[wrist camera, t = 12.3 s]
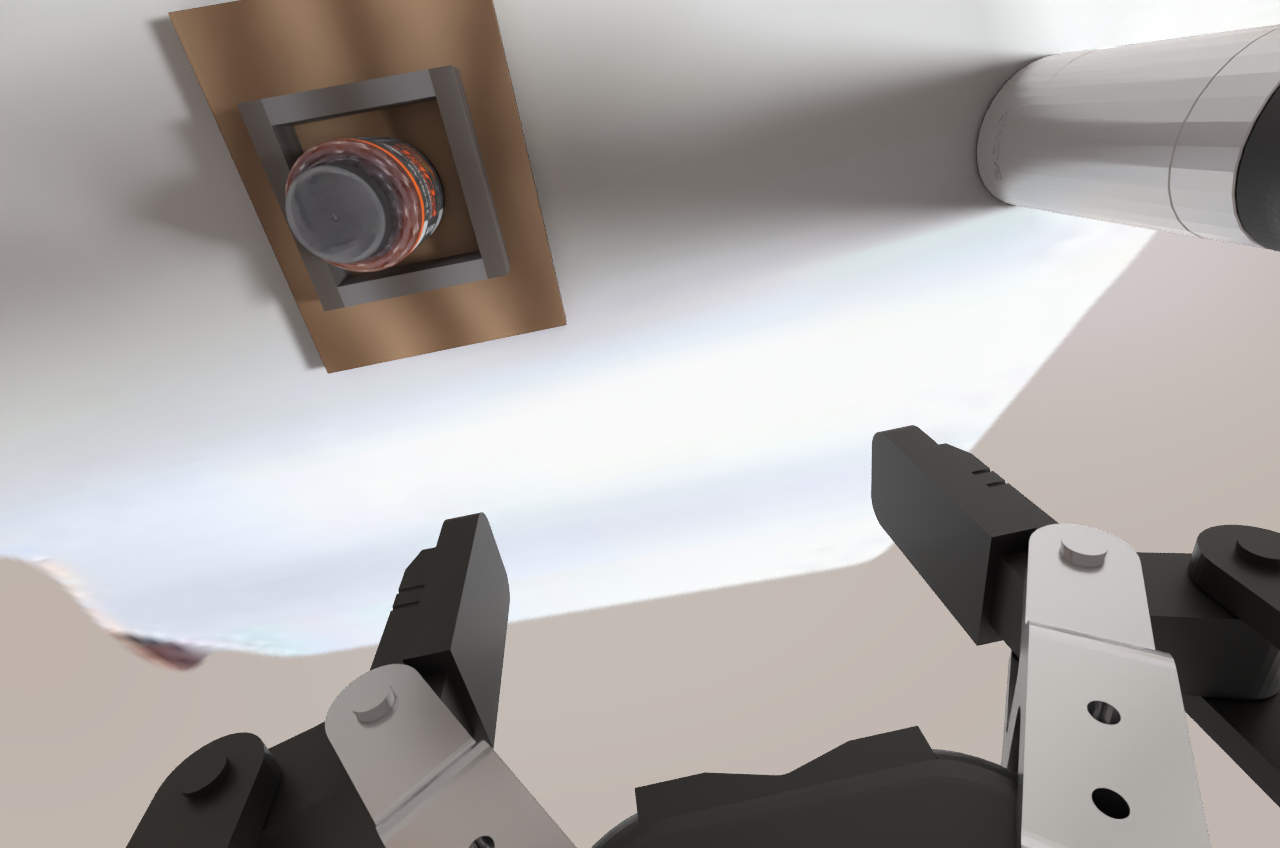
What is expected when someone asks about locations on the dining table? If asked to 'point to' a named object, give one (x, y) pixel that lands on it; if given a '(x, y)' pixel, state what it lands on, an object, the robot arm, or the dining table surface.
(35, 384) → the dining table surface
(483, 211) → the socket plate
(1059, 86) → the robot arm
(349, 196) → the supplement bottle
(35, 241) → the dining table surface
